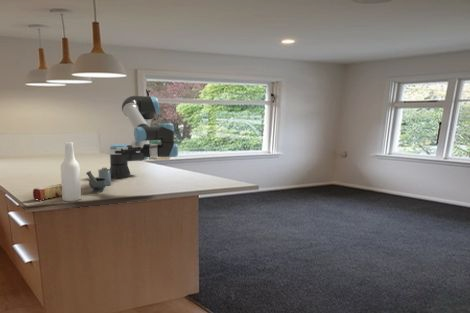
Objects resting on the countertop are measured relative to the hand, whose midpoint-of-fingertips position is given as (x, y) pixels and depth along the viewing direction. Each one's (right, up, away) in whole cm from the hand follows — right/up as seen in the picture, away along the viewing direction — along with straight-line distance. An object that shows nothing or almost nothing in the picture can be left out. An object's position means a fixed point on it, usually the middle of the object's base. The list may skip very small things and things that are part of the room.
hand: (113, 150), depth 191 cm
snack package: (-28, -25, -10) cm, 39 cm away
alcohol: (-16, -26, -16) cm, 34 cm away
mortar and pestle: (-10, -24, +3) cm, 26 cm away
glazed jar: (-12, -21, +19) cm, 31 cm away
